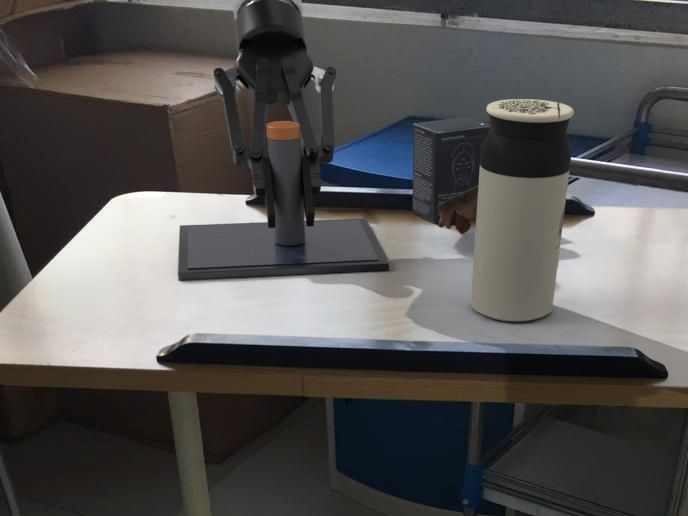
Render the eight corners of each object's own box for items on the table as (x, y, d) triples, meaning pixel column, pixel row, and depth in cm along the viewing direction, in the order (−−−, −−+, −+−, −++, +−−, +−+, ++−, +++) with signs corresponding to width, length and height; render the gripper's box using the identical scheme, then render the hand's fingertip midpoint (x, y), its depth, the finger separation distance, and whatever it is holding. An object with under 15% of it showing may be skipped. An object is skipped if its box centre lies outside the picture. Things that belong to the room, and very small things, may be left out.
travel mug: (462, 318, 84) (475, 112, 74) (479, 289, 91) (493, 95, 80) (545, 328, 83) (571, 119, 72) (557, 298, 89) (581, 101, 78)
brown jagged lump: (481, 271, 96) (451, 197, 94) (445, 282, 105) (416, 215, 103) (567, 226, 100) (540, 154, 97) (525, 241, 108) (499, 175, 106)
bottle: (275, 246, 97) (267, 128, 90) (273, 236, 100) (264, 121, 93) (307, 245, 98) (301, 127, 91) (304, 235, 100) (298, 120, 93)
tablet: (178, 280, 91) (177, 272, 90) (180, 232, 104) (179, 224, 103) (389, 270, 95) (389, 262, 94) (366, 224, 107) (366, 217, 107)
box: (462, 204, 115) (467, 115, 109) (487, 216, 111) (493, 124, 105) (410, 212, 112) (412, 121, 105) (433, 224, 108) (437, 131, 102)
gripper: (341, 44, 102) (364, 235, 99) (195, 45, 99) (214, 241, 96) (346, -5, 95) (372, 199, 91) (189, -6, 92) (209, 205, 89)
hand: (291, 220), depth 94 cm, fingers closed on bottle, 3 cm apart
